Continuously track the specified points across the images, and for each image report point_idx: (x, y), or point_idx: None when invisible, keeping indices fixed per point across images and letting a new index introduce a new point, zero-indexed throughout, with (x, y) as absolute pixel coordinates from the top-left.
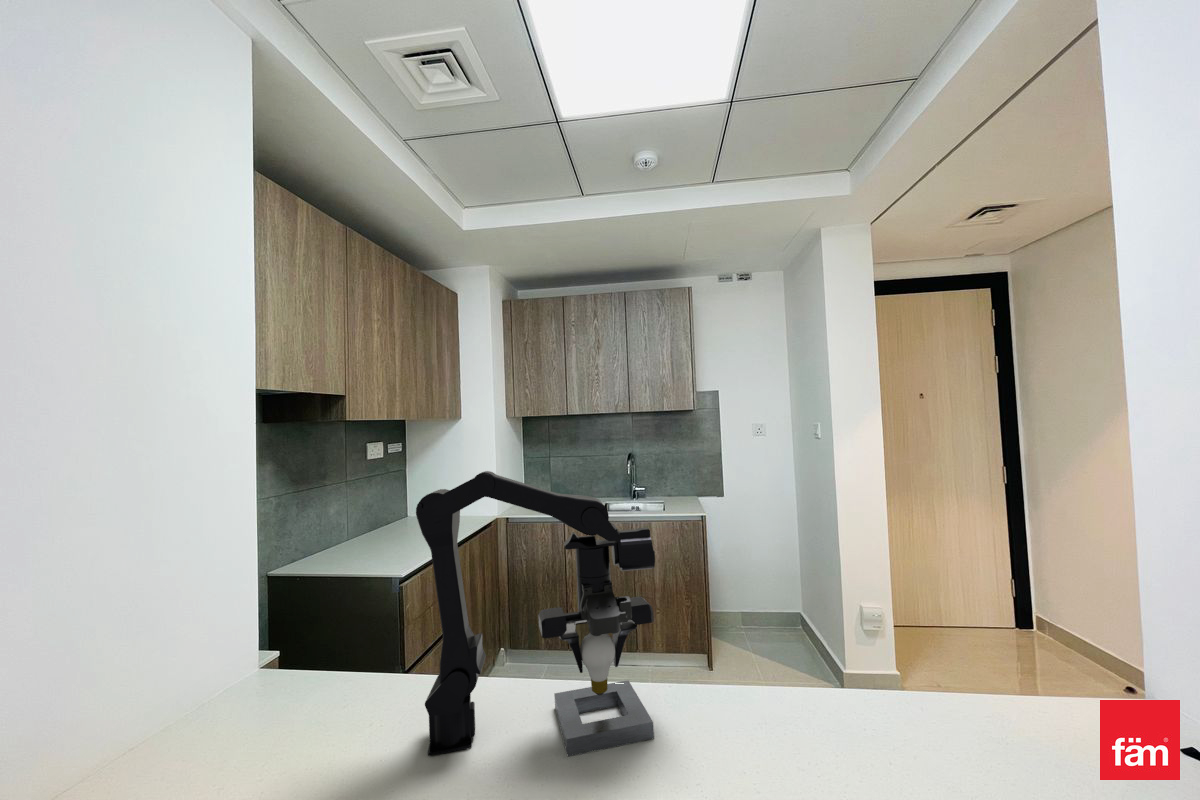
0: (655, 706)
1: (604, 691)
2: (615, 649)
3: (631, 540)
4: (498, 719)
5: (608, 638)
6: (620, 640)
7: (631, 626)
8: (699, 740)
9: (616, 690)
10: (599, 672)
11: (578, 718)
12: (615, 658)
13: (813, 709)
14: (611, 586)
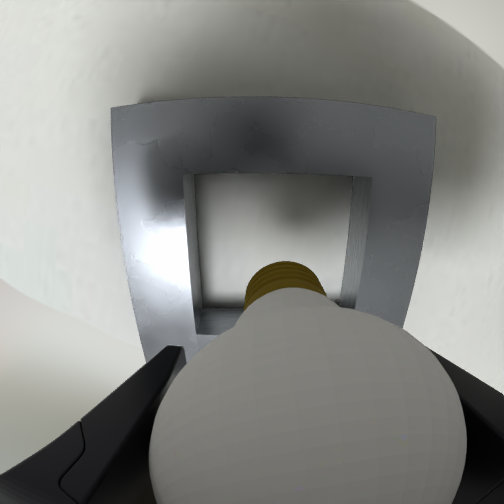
0: (95, 270)
1: (269, 266)
2: (150, 436)
3: None
4: (484, 327)
5: None
6: (68, 477)
7: None
8: (33, 86)
9: (196, 338)
10: (314, 303)
11: (375, 216)
12: (168, 379)
13: None
14: None
